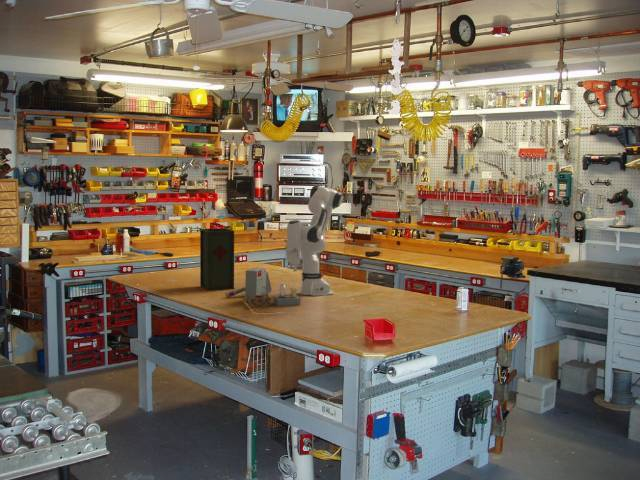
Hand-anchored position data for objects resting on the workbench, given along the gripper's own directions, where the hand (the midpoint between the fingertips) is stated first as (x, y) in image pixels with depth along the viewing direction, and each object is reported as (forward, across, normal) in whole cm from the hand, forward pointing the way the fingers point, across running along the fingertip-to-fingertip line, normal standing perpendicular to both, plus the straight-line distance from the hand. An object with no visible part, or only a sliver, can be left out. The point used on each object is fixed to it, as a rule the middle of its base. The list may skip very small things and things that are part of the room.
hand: (293, 270), depth 393 cm
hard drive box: (+22, +18, +19) cm, 34 cm away
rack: (+22, 0, +20) cm, 30 cm away
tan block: (+17, 0, -1) cm, 18 cm away
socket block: (+22, 0, +3) cm, 22 cm away
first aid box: (+22, +66, +38) cm, 79 cm away
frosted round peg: (+21, 0, +6) cm, 22 cm away
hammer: (+22, +34, +22) cm, 46 cm away
